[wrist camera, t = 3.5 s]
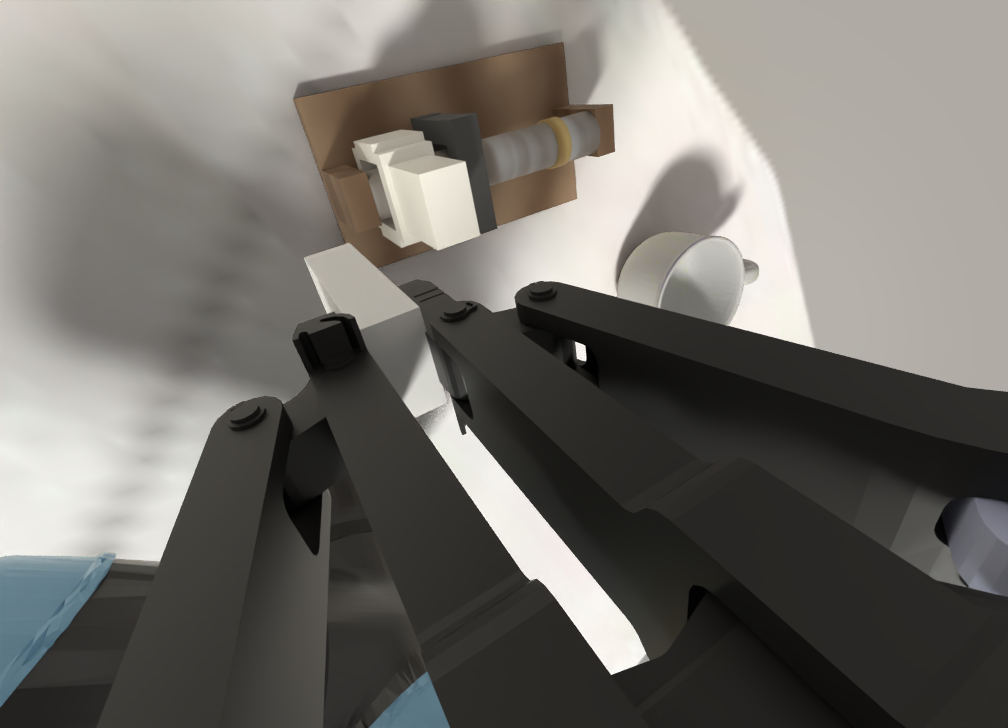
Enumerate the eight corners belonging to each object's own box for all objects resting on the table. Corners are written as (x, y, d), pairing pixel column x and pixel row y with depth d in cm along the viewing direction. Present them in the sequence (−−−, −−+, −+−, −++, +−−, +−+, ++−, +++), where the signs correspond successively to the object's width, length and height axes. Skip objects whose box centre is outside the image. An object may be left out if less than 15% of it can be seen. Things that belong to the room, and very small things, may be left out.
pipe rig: (355, 270, 35) (381, 298, 30) (292, 98, 29) (313, 96, 24) (569, 197, 41) (622, 209, 36) (555, 43, 35) (615, 32, 30)
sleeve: (378, 232, 32) (437, 272, 24) (349, 140, 29) (405, 151, 21) (419, 219, 33) (489, 253, 25) (395, 128, 30) (466, 135, 22)
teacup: (594, 333, 49) (651, 365, 43) (608, 224, 44) (675, 243, 38) (689, 313, 55) (751, 339, 49) (711, 216, 51) (782, 231, 44)
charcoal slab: (435, 218, 34) (474, 236, 29) (410, 118, 31) (450, 119, 26) (455, 211, 35) (497, 228, 30) (433, 112, 31) (476, 113, 26)
